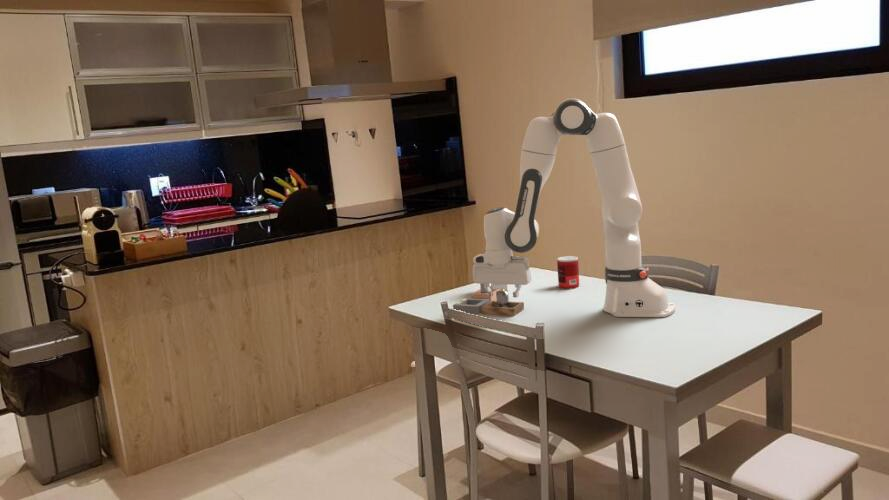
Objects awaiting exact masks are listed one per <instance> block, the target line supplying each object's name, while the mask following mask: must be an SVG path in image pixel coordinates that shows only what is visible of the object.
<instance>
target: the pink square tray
mask: <svg viewBox="0 0 889 500" xmlns="http://www.w3.org/2000/svg"><path fill="white" fill-rule="evenodd" d="M492 290H493V293H494V295H493V296H488V294H485V293H481V288H479V289H478V290H476V291H474V292H472V299H490V301H497V298H496V291H499V289H492Z"/></svg>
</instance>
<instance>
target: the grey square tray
mask: <svg viewBox="0 0 889 500" xmlns="http://www.w3.org/2000/svg"><path fill="white" fill-rule="evenodd" d="M488 302H490V299H473V297H472V298H469V297H467V298H466V297H465V298H463V299H461V300H459V301H458V302H455V303H454V304H452V307H453V308H452V309H456V310H461V311H465V312H469V313H468V314H478V315H479V314H482V308H481V307H482V306H483V305H485V304H487V303H488Z"/></svg>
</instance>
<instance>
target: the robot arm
mask: <svg viewBox="0 0 889 500" xmlns="http://www.w3.org/2000/svg"><path fill="white" fill-rule="evenodd" d="M566 135H569V136H584V138H585V139H586V142H587V146H588V150H589V154H590V158H591V162H592V167H593V171H594V175H595V179H596V181H597V182H596V183H597V185H598V189H599V192H600V196H601V200H602V201H601V212H602V213H601V214H602V226H603V237H604V243H605V244H604V246H605V264H606V266H605V267H604V279H605V280H604V281H605V284H606V287H605V288H606V291H605V297H604V304H603V306H602V307H603V308H602V309H603V311H604V312H606V313H609V314H611V315H612V316H614V317H618V318H664V317H665V318H666V317H669V316H670V315H672V314H673V313H674V312H676V304H675V303H673V302H669V299H668V295H667V292H666V289H664V288H663V286H661V285H659V284H658V283H656V282H655V281H653V280H652V279H651V278H649V267H647V268H646V267H644V265H642V245H641V243H642V242H641V241H642V240H641V237H640V229H639V221H640V220H641V217H642V216H643V215H642V214H643V205H642V201H641V197H640V193H639V190H638V186H637V183H636V180H635V177H634V173H633V171H632V168H631V162H630V159H629V158H630V157H629V154H628V150H627V146H626V145H627V144H626V142H625V138H624V134H623V131H622V128H621V126H620V124H619V122H618V119H617V117H616V116H615V115H614V114H613V113H611V112H610V113H609V112H599V113H595V112H594V111H593V110H592V109H591V108H590V107H588V105H587V104H586V103H585V102H584V101H582V100H580V99H578V98H567V99H565V100H563V101H561V102H560V103H559V104H558V105H557V107H556V108H555V111H554V112H553V113H552V114H551V116H537V117H535V118H533V119H531V120H530V122H529V124H528V126H527V128H526V132H525V135H524V137H523V141H522V147H521V151H520V158H519V159H520V161H519V192H518V197H517V203H516V206H515V211H512V210H510V209H508V207H504V206H501V207H500V206H499V207H495V208H492V209H489V210H488V211H487V212H486V213H485V214H484V217H483V234H484V239H485V243H486V244H485V251H483V252H482V253H480V254H476V255H475V256H474V257H473V258H472V260H473V261H472V262H473V263H474V264H473V266H472V281H473V282H474V284H479V285H480V284H484V288H485V289H486V291H487V294H488V296H493V295H494V293H493V290H491V289H490V287H489V285H490V284H508V285H514V287H515V288H516V289H515V291H512V297H513V298H519V297H520V291H521V288H522V286H524V285H525V286H526V285H528V284H530V283H531V281H532V275H531V271H530V270H531V269H530V261H529V259H528V258H526V257H525V256H515V255H514V254H513V252H516V253H520V254H521V253H522V254H524V253H527V252H530V251H531V250H532V249H534V247H535V246H536V243H537V239H538V236H539V233H540V225H539V223H538V221H537V220H536V219H535V218H536V212H537V209H538V203H539V198H540V194H541V192H542V189H543V187H544V186H545V183H546V182H547V180H548V179H549V177H550V175H551V172H552V170H553V168H554V165H555V162H556V161H555V160H556V155H557V151H558V146H559V142H560V141H561V139H562V137H564V136H566Z"/></svg>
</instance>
